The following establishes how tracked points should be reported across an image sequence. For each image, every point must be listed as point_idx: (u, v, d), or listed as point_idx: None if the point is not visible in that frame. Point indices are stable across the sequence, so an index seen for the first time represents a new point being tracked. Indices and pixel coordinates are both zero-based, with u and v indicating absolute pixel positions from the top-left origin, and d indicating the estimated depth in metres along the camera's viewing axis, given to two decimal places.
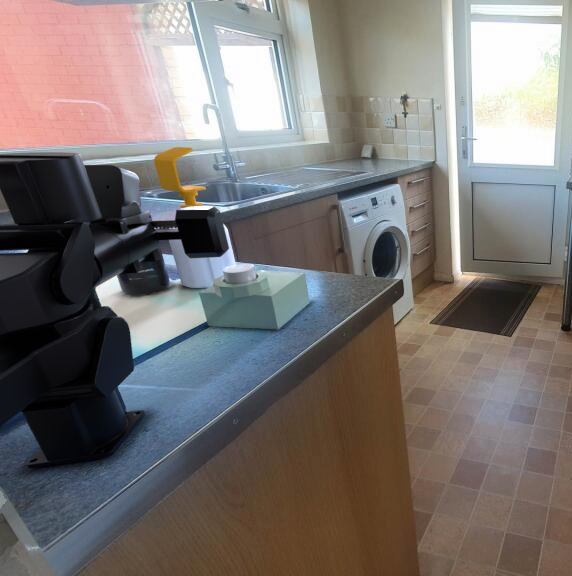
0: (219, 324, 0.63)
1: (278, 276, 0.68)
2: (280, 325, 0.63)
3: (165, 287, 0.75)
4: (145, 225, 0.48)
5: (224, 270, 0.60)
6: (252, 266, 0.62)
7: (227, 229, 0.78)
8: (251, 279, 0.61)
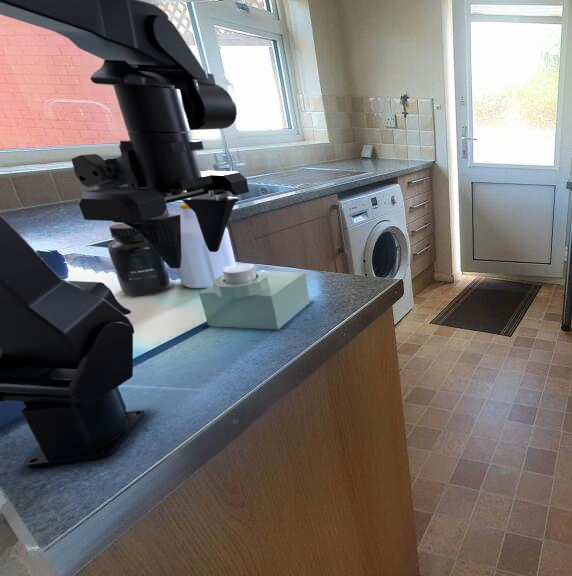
0: (219, 324, 0.63)
1: (278, 276, 0.68)
2: (280, 325, 0.63)
3: (165, 287, 0.75)
4: None
5: (224, 270, 0.60)
6: (252, 266, 0.62)
7: (227, 229, 0.78)
8: (251, 279, 0.61)
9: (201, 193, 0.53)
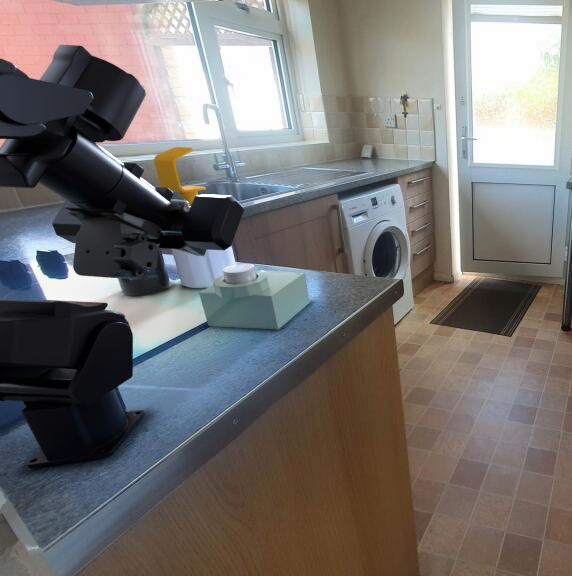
0: (219, 324, 0.63)
1: (278, 276, 0.68)
2: (280, 325, 0.63)
3: (165, 287, 0.75)
4: None
5: (224, 270, 0.60)
6: (252, 266, 0.62)
7: None
8: (251, 279, 0.61)
9: None
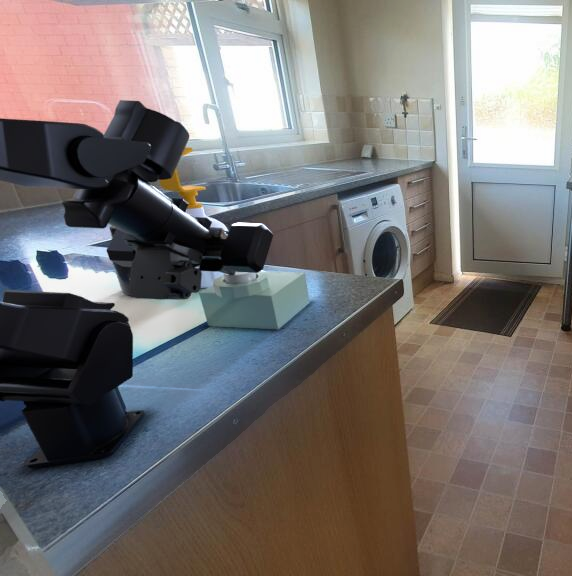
0: (219, 324, 0.63)
1: (278, 276, 0.68)
2: (280, 325, 0.63)
3: None
4: None
5: None
6: None
7: (227, 229, 0.78)
8: None
9: None
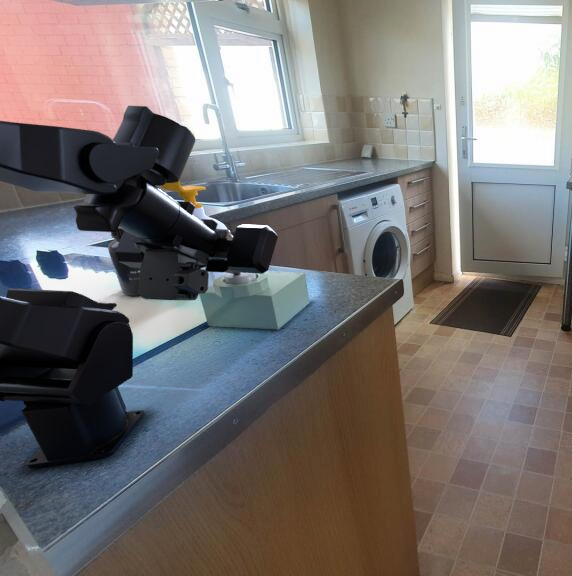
0: (219, 324, 0.63)
1: (278, 276, 0.68)
2: (280, 325, 0.63)
3: None
4: None
5: (225, 274, 0.61)
6: None
7: None
8: None
9: None
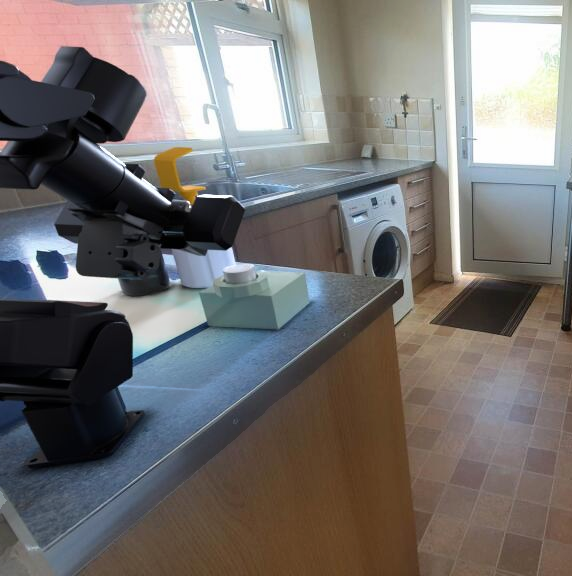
0: (219, 324, 0.63)
1: (278, 276, 0.68)
2: (280, 325, 0.63)
3: (165, 287, 0.75)
4: None
5: (224, 270, 0.60)
6: (252, 266, 0.62)
7: None
8: (251, 279, 0.61)
9: None
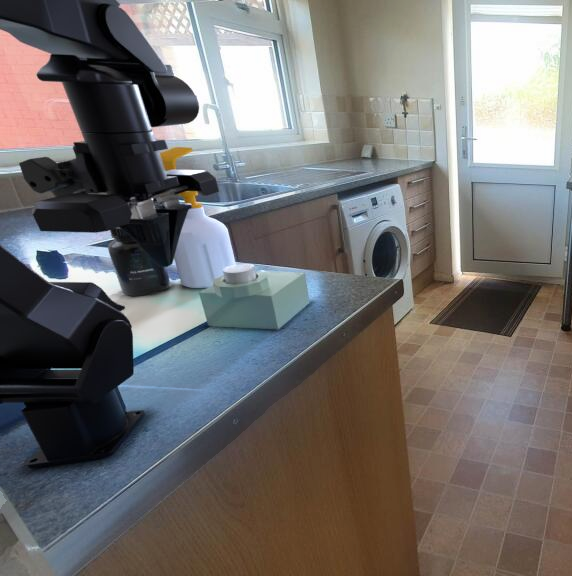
0: (219, 324, 0.63)
1: (278, 276, 0.68)
2: (280, 325, 0.63)
3: (165, 287, 0.75)
4: None
5: (224, 270, 0.60)
6: (252, 266, 0.62)
7: (227, 229, 0.78)
8: (251, 279, 0.61)
9: None
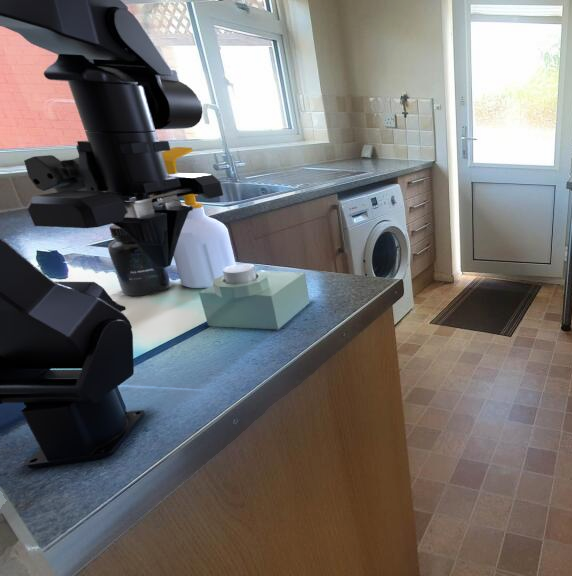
0: (219, 324, 0.63)
1: (278, 276, 0.68)
2: (280, 325, 0.63)
3: (165, 287, 0.75)
4: None
5: (224, 270, 0.60)
6: (252, 266, 0.62)
7: (227, 229, 0.78)
8: (251, 279, 0.61)
9: None
